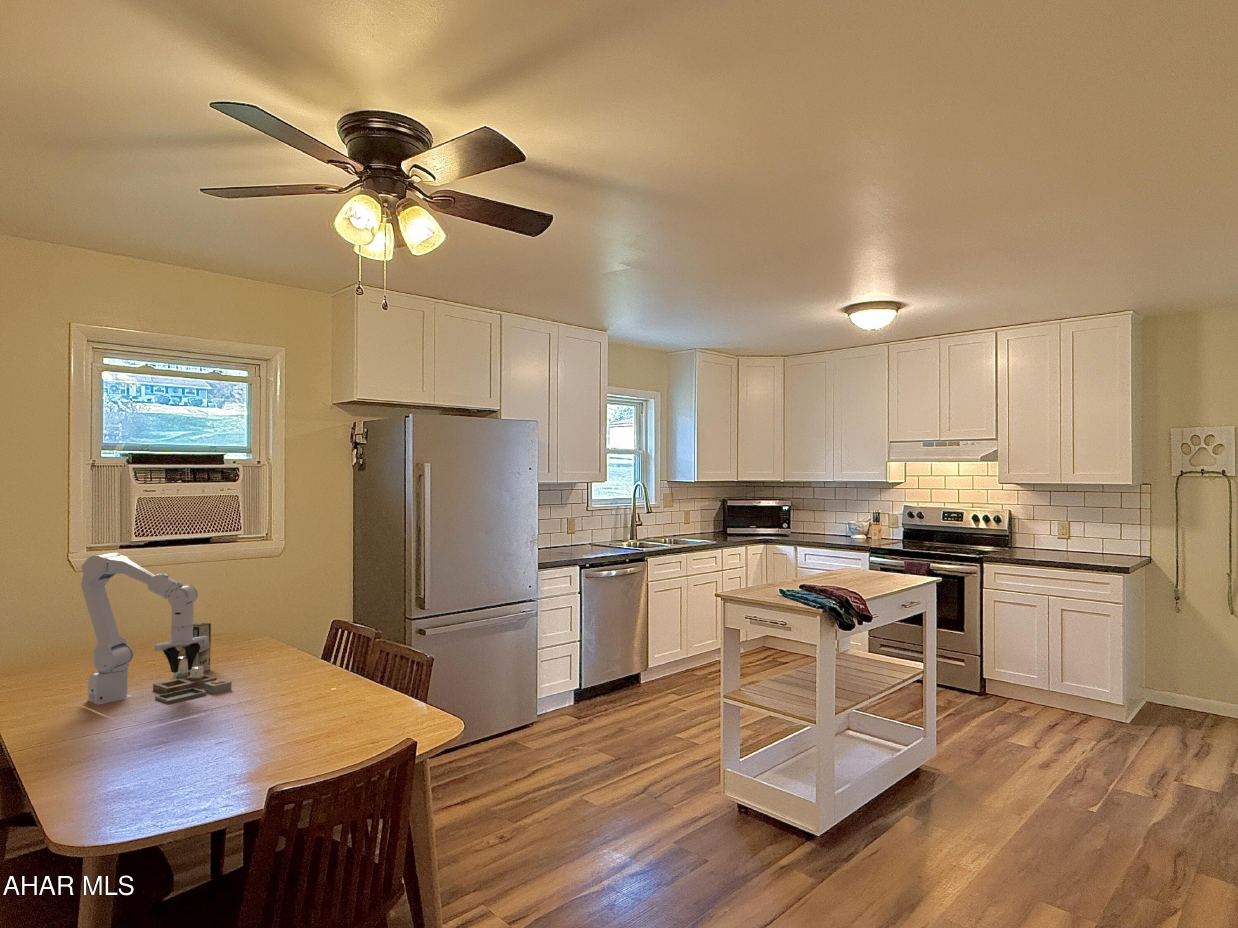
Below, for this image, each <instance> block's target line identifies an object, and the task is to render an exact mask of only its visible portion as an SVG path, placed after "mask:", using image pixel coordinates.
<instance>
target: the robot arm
mask: <svg viewBox="0 0 1238 928" xmlns="http://www.w3.org/2000/svg"><path fill="white" fill-rule="evenodd" d="M81 570H82V578H81V583H80V586H81V591H82V593H83V596H84V600H85V603H86V607H87V610H88V612H89V613H88V615H89V617H90V620H91V623H92V628H93V630H94V634H95V636H96V640H97V642H96V645H95V646H94V648H93V654H94V658H93V666H94V668H95V669H96V670H97V671H98V672H95V673H92V674H90V675H89V676H88V681H87V687H88V688H87V699H86V701H88V702H90V703H93V704H95V705H103V704H107V703H112V702H117V701H121V700H127V699H130V698H133V697H134V696H133V695H131V694H128V684H129V683H128V682H129V681H128V678H129V677H128V675H129V674H128V673H129V664H130V662H131V661H132V660H133V657H134V650H133V649H132V647H131V646H130V645H129V643H128V642H127V639H126V638H125V637H123V636H121V635H120V634H119V630H118V627H117V624H116V621H115V617H114V614H113V610H112V607H111V603H110V601H109V600H110V599H109V597H108V593H107V590H106V586H107V584H108V583H109V581H110V579H111V578H113V577H114V576H115V575H117V574H118V575H120V574H123V575H125V576H128V577H130V578H132V579H134V580H136V581H139V582H141V583H143V584H146V586H147V589H148V591H150V592H152V593H154V594H156V595H158V596H160V597H162V598H163V599H166V600H167V601H168V603H169V605H170V607H171V626H170V628H171V629H170V630H171V631H170V632H171V633H170V634H171V636H170V640H168V641H164V642H160V643H156V644H154V651H155V652H163V654H164V655H165V657H166V659H167V661H168V665H169V667H170V672H171V673H173V674H175V673H176V672H177V661H178V655H179V651H178V650H177V649H176V648H178V647H184V648H185V654H186V656H188V657H189V667H188V670H191V669H192V665H193V662H194V659H195V657H196V655H197V653H198V651H199V650H200V645H198V644H201V643H208V637H207V636H200V637H193V623H194V610H195V609H194V608H195V605H194V604H195V603H194V602H195V601H196V600H197V598H198V594H199V593H198V590H197V589H196V587H194V586H193V585H192V584H183V582H182V581H177V580H175V579H173V578H171V577H170V575H169V574H168V573H157V574H154V573H153V572H151V571H149V570H147V569H146V568H144V567H143V566H140V565H139V564H137V563H135V561H132V560H131V559H129V558H128V557H127V556H126V555H122V554H120V553H119V552H109V553H105V554H99V555H98V554H96V555H91V556H89V557H87V559H85V561H84V563H83V564H82V565H81ZM177 645H178V646H177Z"/></svg>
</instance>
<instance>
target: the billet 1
mask: <svg viewBox="0 0 1238 928" xmlns="http://www.w3.org/2000/svg"><path fill="white" fill-rule="evenodd" d="M188 667H189V657H188V656H181V657H178V661H177V672H176V673H174V679H184V678H187V677H188V676H189V673H188Z"/></svg>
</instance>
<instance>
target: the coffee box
mask: <svg viewBox="0 0 1238 928" xmlns="http://www.w3.org/2000/svg"><path fill="white" fill-rule="evenodd" d="M211 628H212V623H210V622H209V623H208V622H193V637H200V636H207V637H208V643H201V644H198V645H200V650H199V651H198V653H197V655H196V657H195V659H194V662H193V665H192V667H195V666H203V673H204V672H207V671H209V670H211V646H212V645H211V643H212V642H211V639H212V638H211V636H212V635H211V633H212V629H211ZM177 646H178V645H177ZM176 649H177V650H178V651H179V655H178V657H181V656H186V654H185V648H184V647H178V648H176ZM190 673H191V670H188V674H190Z"/></svg>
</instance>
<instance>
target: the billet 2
mask: <svg viewBox="0 0 1238 928" xmlns="http://www.w3.org/2000/svg"><path fill="white" fill-rule="evenodd" d="M189 674H190V675H189V676H190V681H191V682H193V681H198V680H202V679H203V674H204V672H203V666H195V667H192V669H191V673H189Z"/></svg>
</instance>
